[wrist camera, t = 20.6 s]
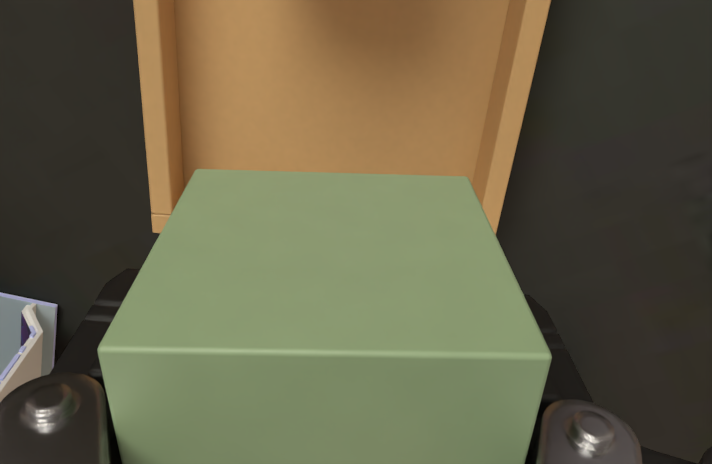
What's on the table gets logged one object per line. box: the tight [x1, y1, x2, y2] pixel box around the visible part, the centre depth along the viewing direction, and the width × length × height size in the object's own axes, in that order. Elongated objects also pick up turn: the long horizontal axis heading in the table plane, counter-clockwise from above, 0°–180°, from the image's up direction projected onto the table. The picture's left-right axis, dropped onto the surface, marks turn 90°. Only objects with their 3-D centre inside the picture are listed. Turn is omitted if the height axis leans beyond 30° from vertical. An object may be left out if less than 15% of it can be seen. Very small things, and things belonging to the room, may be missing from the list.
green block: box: [97, 169, 552, 464], centre depth 10 cm, size 5×5×5 cm
